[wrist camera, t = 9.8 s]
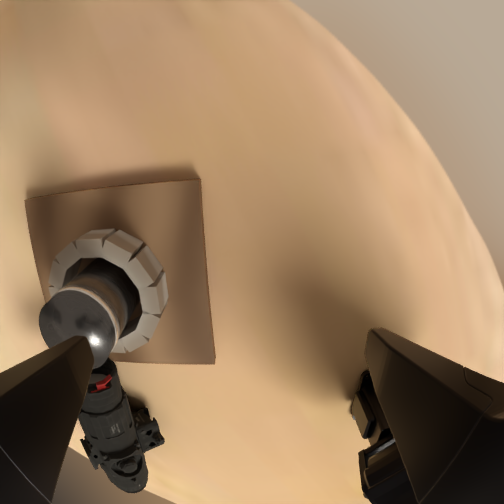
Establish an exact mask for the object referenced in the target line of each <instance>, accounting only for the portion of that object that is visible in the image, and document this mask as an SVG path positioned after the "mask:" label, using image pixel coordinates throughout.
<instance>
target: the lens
mask: <svg viewBox="0 0 504 504" xmlns="http://www.w3.org/2000/svg"><path fill="white" fill-rule="evenodd" d="M139 302H140V294H139V289H138V288H137V287H136V285H135V284H134V283H133V281H132V280H131V279H130V277H129V276H128V275H127V273H126V272H125V271H124V269H122V268H121V267H119V266H117V265H115V264H113V263H111V262H109V261H107V260H106V259H104V258H102V257H98V258H96V259H95V260H94V261H93V262H91V263H90V264H89V265H88V266H87V267H86V268H84V269H83V270H82V271H81V272H80V273H79V274H78V275H76V276H75V277H74V278H73V279H72V280H71V281H70V282H69V283H68V284H66V285H65V286H64V287H63V288H61V289H60V290H59V291H58V292H56V293H55V294H54V295H53V296H52V298H51V299H50V300H49V301H48V302H47V303H46V304H45V305H44V306H43V308H42V309H41V312H40V315H39V326H40V331H41V334H42V336H43V339H44V341H45V342H46V344H47V345H48V347H49V348H51V347H53V346H55V345H57V344H59V343H61V342H63V341H65V340H67V339H69V338H71V337H73V336H76V335H77V336H85V337H87V338H88V340H89V343H90V347H91V350H92V353H93V356H94V365H93V369H95V368H98V367H100V366H101V365H103V364H104V363H105V361H106V360H107V358H108V356H109V355H110V353H111V352H112V350H113V349H114V347H115V345H116V344H117V341H118V339H119V336H120V335H121V333H122V331H123V329H124V328H125V326H126V324H127V322H128V321H129V319H130V317H131V315H132V314H133V312H134V310H135V308H136V307H137V305H138V303H139Z"/></svg>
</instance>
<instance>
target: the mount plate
mask: <svg viewBox="0 0 504 504" xmlns="http://www.w3.org/2000/svg"><path fill="white" fill-rule="evenodd" d="M25 207H26V214H27V221H28V227H29V233H30V238H31V243H32V249H33V253H34V258H35V263H36V267H37V271H38V275H39V279H40V283H41V287H42V291H43V295H44V298H45V302H46V303H47V302H48V301H49V300H50V299H51V298H52V296H53V295H54V294H55V293H56V292H58V291H59V290H60V289H61V288H63V287H64V286H65V285H66V284H68V283H69V282H70V281H71V280H72V279H73V278H74V277H75V276H76V275H78V274H79V273H80V272H81V271H82V270H83V269H84V268H86V267H87V266H88V265H89V264H90V263H91V262H93V261H94V260H95V259H96V258H98V257H102V258H104V259H106V260H107V261H109V262H111V263H113V264H115V265H117V266H119V267H121V268H122V269H124V271H125V272H126V273H127V275H128V276H129V277H130V279H131V280H132V281H133V283H134V284H135V285H136V287H137V288H138V289H139V294H140V302H139V303H138V305H137V307H136V308H135V310H134V312H133V314H132V315H131V317H130V319H129V321H128V322H127V324H126V326H125V328H124V329H123V331H122V333H121V335H120V336H119V339H118V341H117V344H116V345H115V347H114V349H113V350H112V352H111V353H110V355H109V356H108V357H109V358H110V359H111V360H112V361H119V362H134V363H155V364H215V358H216V356H215V347H214V338H213V328H212V319H211V308H210V298H209V287H208V276H207V264H206V251H205V238H204V224H203V209H202V192H201V179H191V180H177V181H164V182H152V183H141V184H131V185H122V186H113V187H104V188H96V189H88V190H80V191H73V192H66V193H59V194H53V195H46V196H40V197H34V198H30V199H27V200H25Z"/></svg>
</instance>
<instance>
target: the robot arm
mask: <svg viewBox="0 0 504 504" xmlns="http://www.w3.org/2000/svg"><path fill="white" fill-rule="evenodd" d="M365 358H366V361H367V364H368V368H369V370H368V371H365V372H363V373H362V375H361V379H360V384H359V388H358V391H357V392H356V393H355V397H354V402H353V406H352V418H353V419H354V420H356V423H357V425H358V428H359V430H360V433H361V436H362V438H364V439H367V438H368V440H369V442H370V445H371V446H370V447H368V448H367V449H365V450H364V449H363V450H362V451H360V452H358V455H359V467H360V476H361V485H362V491H363V495H364V497H365V498H367V499H369V501H370V502H371V503H372V504H504V383H502V382H499V381H497V380H494V379H492V378H489V377H486V376H484V375H482V374H480V373H477V372H475V371H473V370H471V369H469V368H466V367H464V368H463V366H462V365H460V364H458V363H456V362H454V361H451V360H449V359H447V358H445V357H443V356H441V355H439V354H437V353H434V352H432V351H430V350H428V349H426V348H424V347H422V346H420V345H418V344H415V343H413V342H411V341H409V340H407V339H405V338H403V337H401V336H399V335H397V334H394V333H392V332H390V331H388V330H386V329H384V328H373V329H370V330H369V332H368V337H367V342H366V348H365ZM93 365H94V356H93V353H92V350H91V347H90V343H89V340H88V338H87V337H85V336H77V335H76V336H73V337H71V338H69V339H67V340H65V341H63V342H61V343H59V344H57V345H55V346H53V347H51V348H49V349H47V350H45V351H43V352H41V353H39V354H37V355H35V356H33V357H31V358H29V359H27V360H25V361H23V362H21V363H19V364H17V365H15V366H13V367H11V368H9V369H7V370H6V371H4V372H2V373H0V504H51V503H52V499H53V496H54V492H55V488H56V485H57V481H58V477H59V474H60V471H61V467H62V464H63V461H64V457H65V454H66V451H67V448H68V445H69V442H70V439H71V436H72V433H73V430H74V427H75V424H76V421H77V419H78V416H79V413H80V410H81V408H82V405H83V402H84V399H85V395H86V392H87V388H88V384H89V380H90V376H91V373H92V369H93ZM366 376H367V377H366Z"/></svg>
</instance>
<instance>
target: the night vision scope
mask: <svg viewBox="0 0 504 504" xmlns="http://www.w3.org/2000/svg"><path fill="white" fill-rule="evenodd" d="M78 419H79V421H80V424H81V426H82V429H83V431H84V433H85V437H84V438H85V440H83V439H80V441H81V443H82V445H83V447H84V449H85V451H86V454H87V456H88V458H89V459H90V461H91V463H92V465H93V467H94V468H95V469H98V465H99V464H100V466H101V468H102V469H103V470H104V471H105V473H106V474H107V476H108V478H109V479H110V481H111V482H112V483H114V484H115V485H116V486H117V487H118V488H120V489H121V490H123V491H125V492H127V493H137V492H140V491H141V490H143V489H144V488H145V487H146V483H147V481H148V469H147V466H146V461H145V456H144V453H145V452H146V451H149V450H150V449H153V448H155V447H157V446H160V445H162V444H164V442H165V441H164V438H163V436H162V435H161V433H160V430H159V426H158V423H157V421H156V419H155V418H154V417H153V421H151V419H150V416H149V412H148V409H147V408H143V409H140V410H138V411H137V412H136V413H135V412H131V409H130V406H129V402H128V398H127V394H126V392H125V391H124V390H123V388H122V386H121V385H120V381H119V377H118V373H117V368H116V365H115V363H114V362H113V361H112V360H111V359H110V358H109V357H108V358H107V360H106V361H105V363H104V364H103V365H101V366H100V367H98V368H95V369H92V373H91V376H90V380H89V384H88V388H87V392H86V395H85V399H84V402H83V405H82V408H81V410H80V413H79V416H78ZM143 452H144V453H143Z"/></svg>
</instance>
